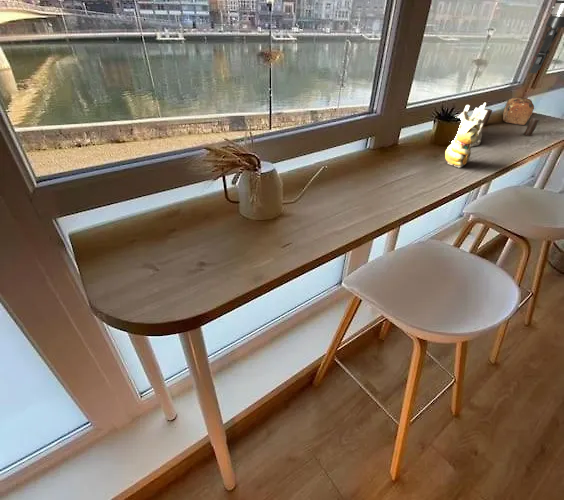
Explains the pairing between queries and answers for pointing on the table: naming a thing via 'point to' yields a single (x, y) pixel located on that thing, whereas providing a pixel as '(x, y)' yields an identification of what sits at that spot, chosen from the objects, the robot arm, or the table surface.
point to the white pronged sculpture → (476, 116)
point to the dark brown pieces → (528, 131)
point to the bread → (518, 110)
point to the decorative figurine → (462, 145)
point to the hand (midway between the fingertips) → (534, 71)
